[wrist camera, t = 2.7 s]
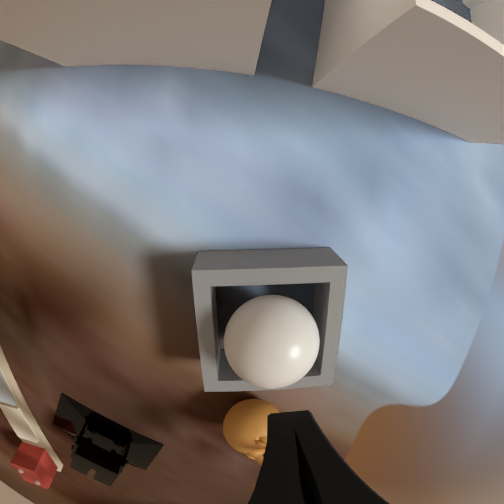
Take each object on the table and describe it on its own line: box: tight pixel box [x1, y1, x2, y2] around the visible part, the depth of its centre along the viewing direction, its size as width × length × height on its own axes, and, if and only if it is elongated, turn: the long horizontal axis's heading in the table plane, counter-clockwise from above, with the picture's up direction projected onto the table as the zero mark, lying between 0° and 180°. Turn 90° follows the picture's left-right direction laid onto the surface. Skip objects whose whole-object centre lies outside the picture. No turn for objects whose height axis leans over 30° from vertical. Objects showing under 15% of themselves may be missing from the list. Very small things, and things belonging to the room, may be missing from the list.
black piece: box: [53, 393, 164, 486], centre depth 20 cm, size 12×7×5 cm, turn 59°
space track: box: [0, 346, 63, 489], centre depth 18 cm, size 20×4×4 cm, turn 1°
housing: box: [191, 248, 348, 392], centre depth 17 cm, size 7×7×3 cm
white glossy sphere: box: [224, 295, 320, 389], centre depth 15 cm, size 5×5×5 cm
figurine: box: [223, 399, 279, 490], centre depth 15 cm, size 8×6×12 cm
